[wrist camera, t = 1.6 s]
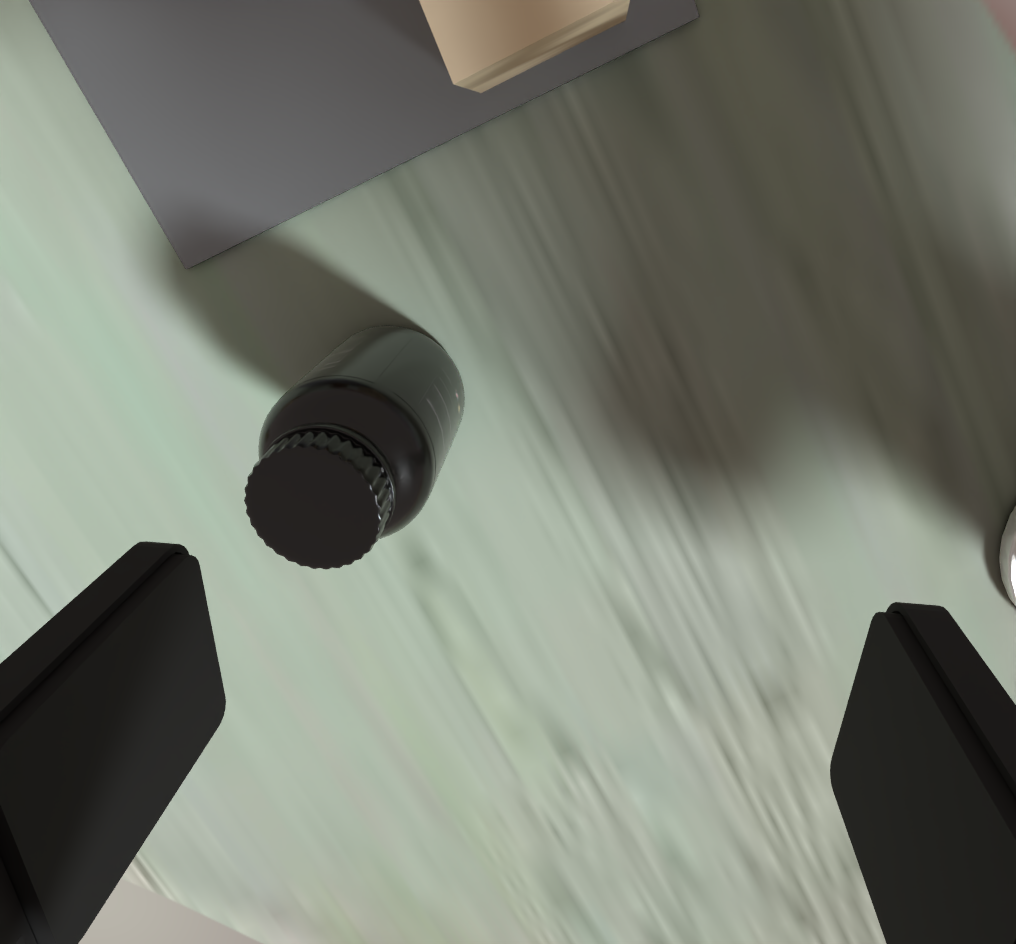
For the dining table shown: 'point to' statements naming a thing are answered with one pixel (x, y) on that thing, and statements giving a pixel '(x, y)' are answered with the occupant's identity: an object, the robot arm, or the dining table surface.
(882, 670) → the robot arm
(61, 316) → the dining table surface
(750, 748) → the dining table surface
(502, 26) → the maple block
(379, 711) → the dining table surface
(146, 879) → the dining table surface
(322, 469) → the supplement bottle
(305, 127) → the mat
